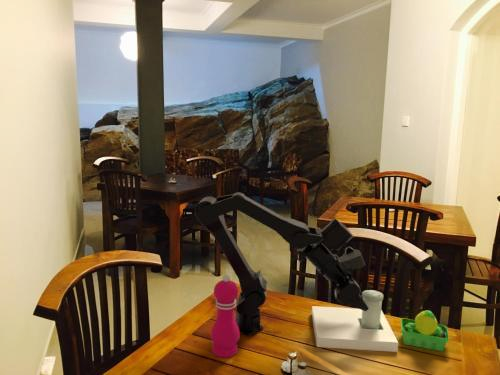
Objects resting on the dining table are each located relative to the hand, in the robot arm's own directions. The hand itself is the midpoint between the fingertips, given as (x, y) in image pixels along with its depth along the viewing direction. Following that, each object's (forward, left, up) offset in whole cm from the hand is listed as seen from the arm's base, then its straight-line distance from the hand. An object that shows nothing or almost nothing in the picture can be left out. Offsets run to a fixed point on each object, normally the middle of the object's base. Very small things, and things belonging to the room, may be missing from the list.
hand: (363, 302), depth 115 cm
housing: (-2, -2, -10) cm, 10 cm away
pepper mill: (-17, -33, -10) cm, 39 cm away
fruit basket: (+14, +8, -10) cm, 18 cm away
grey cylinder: (+2, +2, -9) cm, 9 cm away
